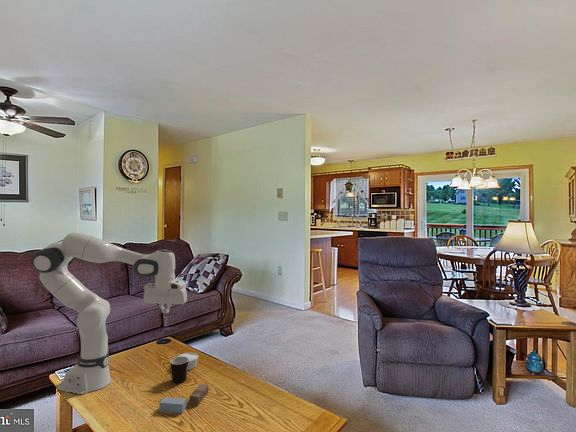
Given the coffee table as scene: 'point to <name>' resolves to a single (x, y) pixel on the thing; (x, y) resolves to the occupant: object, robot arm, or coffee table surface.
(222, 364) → the coffee table surface
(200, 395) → the walnut block
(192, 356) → the ramekin
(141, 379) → the coffee table surface
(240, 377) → the coffee table surface
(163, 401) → the slate block
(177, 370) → the coffee mug
